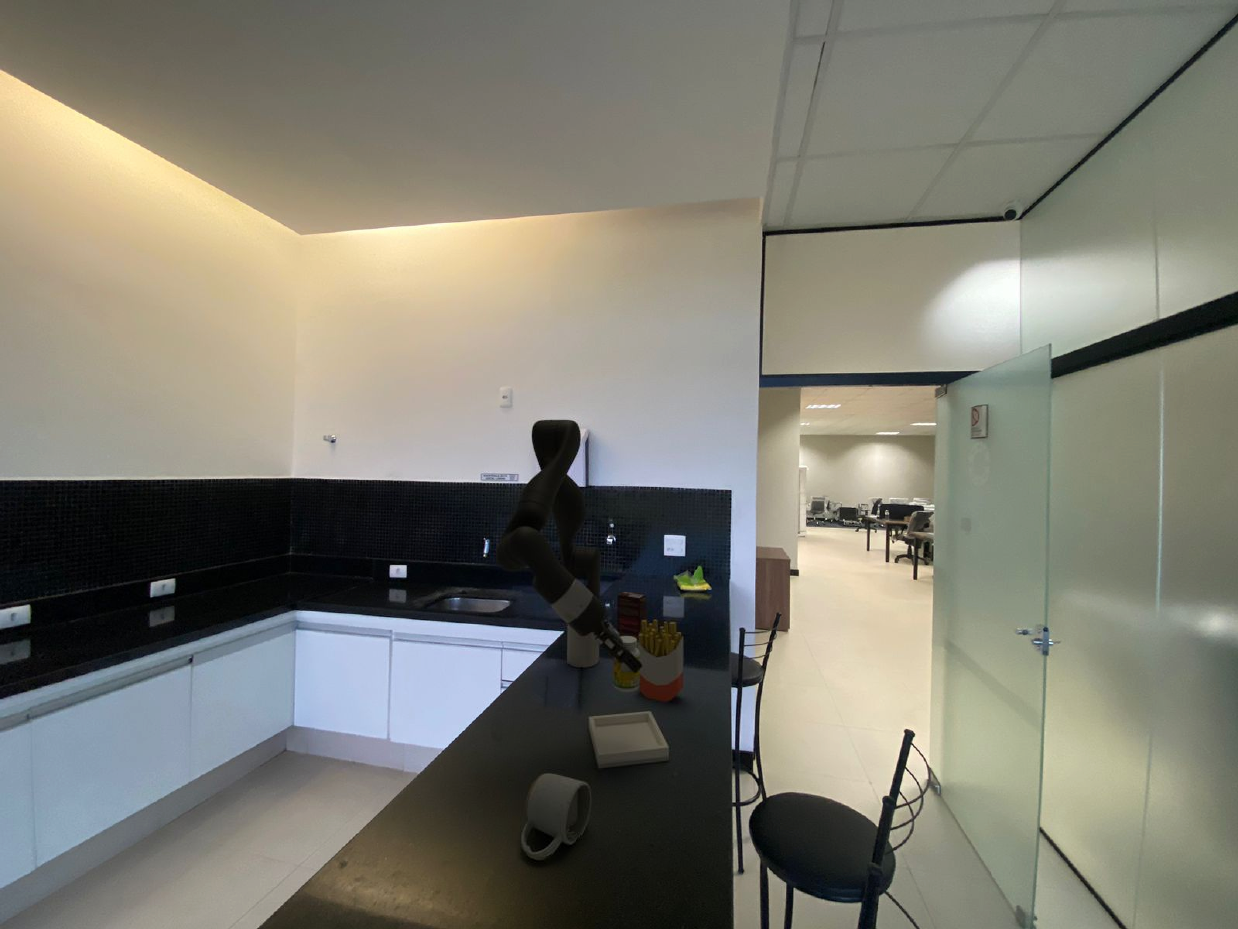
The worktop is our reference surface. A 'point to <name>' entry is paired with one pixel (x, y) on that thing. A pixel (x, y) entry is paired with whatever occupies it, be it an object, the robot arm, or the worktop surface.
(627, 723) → the tray
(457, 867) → the worktop surface
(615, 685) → the supplement bottle
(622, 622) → the supplement box
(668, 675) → the french fries container
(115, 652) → the worktop surface
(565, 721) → the worktop surface
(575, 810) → the ceramic mug
